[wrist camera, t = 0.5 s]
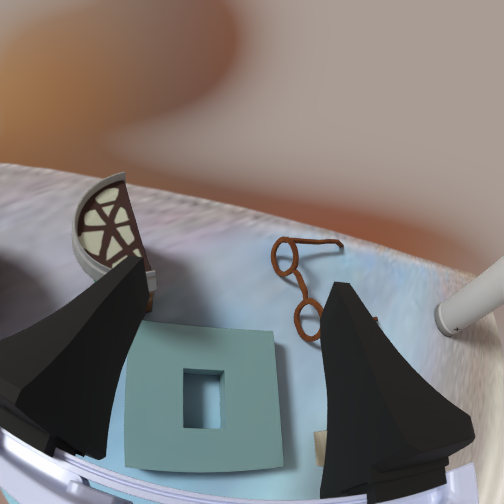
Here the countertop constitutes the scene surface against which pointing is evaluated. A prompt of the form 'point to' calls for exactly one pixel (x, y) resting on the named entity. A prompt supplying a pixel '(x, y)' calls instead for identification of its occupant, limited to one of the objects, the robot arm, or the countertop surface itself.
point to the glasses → (299, 278)
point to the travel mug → (472, 301)
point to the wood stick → (320, 446)
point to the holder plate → (231, 399)
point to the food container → (108, 231)
